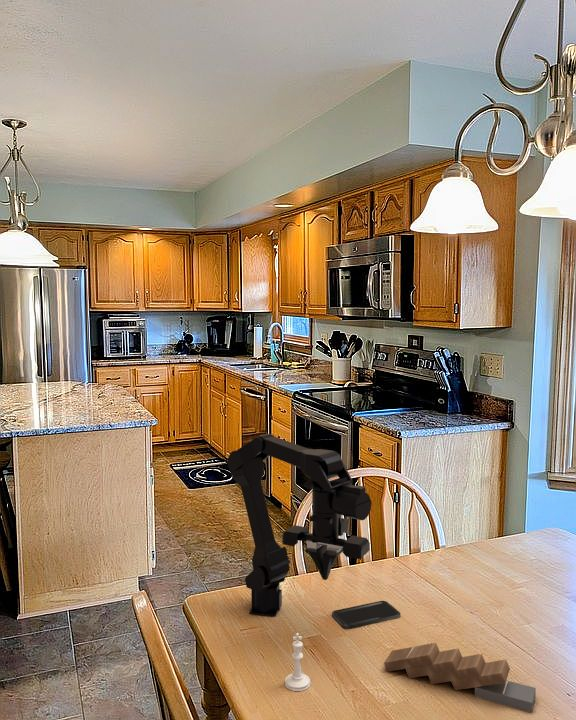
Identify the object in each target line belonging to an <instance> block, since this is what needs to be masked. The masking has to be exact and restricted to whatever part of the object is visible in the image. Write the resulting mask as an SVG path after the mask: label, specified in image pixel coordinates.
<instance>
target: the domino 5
mask: <svg viewBox="0 0 576 720" xmlns="http://www.w3.org/2000/svg"><path fill="white" fill-rule="evenodd" d="M536 693H537V690H536V687H533V686H530V685H525V684H523V683H522V684H521V683H518V682H514V681H512V680H511V681H510V680H506V683H501V684H494V685H487V686H481V687H474V697H476V698H479V699H483V700H486V701H489V702H493V703H497V704H500V705H504V706H507V707H511V708H515V709H518V710H522V711H525V712H529V713H533V709H534V706H535V701H536V696H537V695H536Z"/></svg>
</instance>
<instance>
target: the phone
mask: <svg viewBox="0 0 576 720" xmlns="http://www.w3.org/2000/svg"><path fill="white" fill-rule="evenodd" d="M331 617H332V618H333V619H334V620H335V621H336V622H337V623H338V624H339V625H340V626H341V627H342V629H345V630H352V629H356V628H357V629H358V628H361V627H365V626H369V625H374V624H379V623H383V622H388V621H392V620H398V619H400V618H401V612H400V611H399V610H398V609H396V608H395V607H394V606H393V605H392V604H390V602H388V601H386V600H378V601H374V602H369V603H364V604H360V605H356V606H350V607H347V608H341V609H335V610H333V611H332V612H331Z"/></svg>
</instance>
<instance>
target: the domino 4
mask: <svg viewBox="0 0 576 720" xmlns="http://www.w3.org/2000/svg"><path fill="white" fill-rule="evenodd" d="M509 665H510V664H509V663H508V660H507V659H501V660H500V659H499V660H495V661H494V660H493V661H487V662H485V666H484V668H483V671H482V673H481V676H480V677H474V678H467V679H461V680H455V681H450V682H451V684H452V686H453V689H454V691H458V690H466V689H473V688H474V689H475V687H481V686H487V685H494V684H501V683H506V680H507V679H508V676H509V674H510V670H511V668H510V666H509ZM507 681H508V680H507Z"/></svg>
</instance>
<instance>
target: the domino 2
mask: <svg viewBox="0 0 576 720" xmlns="http://www.w3.org/2000/svg"><path fill="white" fill-rule="evenodd" d="M462 657H463V656H462V653H461V650H460V648H459V647H457V648H454V649H448V650H443V651H442V650H441V651H440V652H439V654H438V656H437V657H436V659H435V661H434V663H433V664H431V665H425V666H419V667H413V668H407V669H405V671H406V674H407V676H408V679H413V678H418V677H419V678H420V677H426V676H428V675H432V674H438V673H444V672H450V671H456V670H457V668H458V666H459V664H460V661H461V659H462Z"/></svg>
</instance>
